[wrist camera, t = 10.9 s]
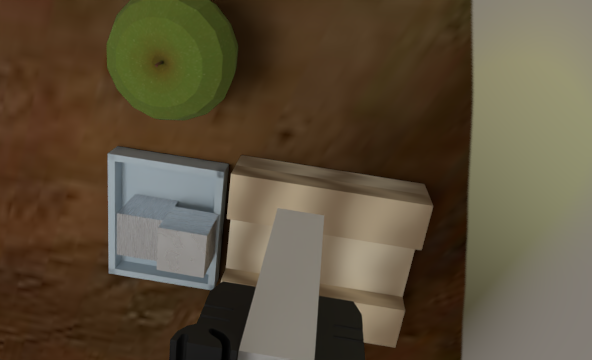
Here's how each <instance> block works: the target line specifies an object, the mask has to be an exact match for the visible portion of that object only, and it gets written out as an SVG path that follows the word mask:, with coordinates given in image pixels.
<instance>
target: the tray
mask: <svg viewBox="0 0 592 360" xmlns="http://www.w3.org/2000/svg"><path fill="white" fill-rule="evenodd" d="M228 171H229V164H226V163H220V162H214V161H208V160H201V159H195V158H189V157H182V156H176V155H170V154H164V153H157V152H151V151H145V150H138V149H132V148H126V147H119V146H117V147H116V148H114V149H113V150H112V151H110V152H109V153H108V243H109V273H110V274H116V275H122V276H128V277H134V278H140V279H146V280H152V281H159V282H165V283H171V284H177V285H183V286H189V287H195V288H201V289H207V290H212V289H213V288H215V286H216V284H217V281H218V279H219V269H220V258H221V247H222V236H223V225H224V214H225V203H226V192H227V182H228ZM135 194H139V195H145V196H151V197H157V198H164V199H170V200H176V201H179V202H178V207H180V208H186V209H192V210H198V211H204V212H210V213H216V214H219V219H218V231H217V242H216V254H215V256H214V258H213V260H212V262H211V264H210V266H209V268H208V270H207V272H206V274H205V276H204V278H201V277H195V276H189V275H184V274H178V273H172V272H166V271H161V270H157V261H153V260H147V259H141V258H135V257H129V256H123V255H117V212H118V211H119V210H120V209H121V208H122V207H123V206H124V205H125V204H126V203H127V202H128V201H129V200H130V199H131V198H132V197H133V196H134V195H135Z"/></svg>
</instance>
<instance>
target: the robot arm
mask: <svg viewBox="0 0 592 360" xmlns="http://www.w3.org/2000/svg"><path fill="white" fill-rule="evenodd" d="M323 226H324V215H318V214H312V213H305V212H299V211H293V210H287V209H281V208H277V212H276V216H275V219H274V223H273V227H272V230H271V234H270V238H269V241H268V245H267V249H266V252H265V256H264V260H263V263H262V267H261V271H260V274H259V278H258V282H257V285H256V287H255V286H249V285H243V284H237V283H231V282H225V281H222V282H221V283H220V284H218V285H217V286H216V287H215V288H213V289H212V290H211V291H210V293H209V295H208V298H207V300H206V302H205V306H204V307H203V310H202V312H201V314H200V317H199V319H198V322H197V324H194V325H189V326H186V327H184V328H183V329H181V330H179V331H177V332H176V333H175V335H174V336H173V337H172V338H171V340H170V357H169V360H365V354H364V343H363V341H364V338H363V322H362V314H361V312H360V311H359V309H358V308H357V306H356V305H355V303H354V301H348V300H342V299H336V298H330V297H324V296H319V286H320V271H321V256H322V241H323Z"/></svg>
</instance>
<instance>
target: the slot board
mask: <svg viewBox="0 0 592 360" xmlns="http://www.w3.org/2000/svg"><path fill="white" fill-rule="evenodd" d="M277 208H281V209H287V210H293V211H299V212H305V213H312V214H318V215H324V226H323V241H322V256H321V271H320V286H319V296H324V297H330V298H336V299H342V300H348V301H354V303H355V305H356V306H357V308H358V309H359V311H360V312H361V314H362V322H363V338H364V341H363V342H365V343H371V344H377V345H383V346H389V347H395V346H396V343H397V339H398V335H399V332H400V328H401V324H402V321H403V317H404V313H405V307H404V302H403V293H404V289H405V285H406V282H407V278H408V274H409V270H410V266H411V263H412V259H413V255H414V251H415V249H416V250H422V246H423V243H424V239H425V235H426V232H427V228H428V224H429V220H430V217H431V213H432V209H433V204H432V201H431V199H430V197H429V194H428V192H427V189H426V187H425V184H421V183H415V182H408V181H402V180H396V179H390V178H383V177H377V176H371V175H364V174H358V173H352V172H345V171H339V170H333V169H326V168H320V167H314V166H307V165H301V164H295V163H288V162H282V161H276V160H270V159H263V158H257V157H251V156H244V155H241V157H240V158H239V160H238V162H237V164H236V166H235V167H234V169H233V171H232V173H231V178H230V189H229V200H228V210H227V219H231V220H230V230H229V241H228V251H227V261H226V269H225V271H224V274H223V276H222V279H221V282H222V281H225V282H231V283H237V284H243V285H249V286H255V287H256V285H257V282H258V278H259V274H260V271H261V267H262V263H263V260H264V256H265V252H266V249H267V245H268V241H269V238H270V234H271V230H272V227H273V223H274V219H275V216H276V212H277Z"/></svg>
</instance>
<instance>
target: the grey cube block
mask: <svg viewBox="0 0 592 360" xmlns="http://www.w3.org/2000/svg"><path fill="white" fill-rule="evenodd" d="M178 202H179V201H176V200H170V199H164V198H157V197H151V196H145V195H139V194H135V195H134V196H133V197H132V198H131V199H130V200H129V201H128V202H127V203H126V204H125V205H124V206H123V207H122V208H121V209H120V210H119V211H118V212H117V255H123V256H129V257H135V258H141V259H147V260H153V261H157V241H158V227H159V225H160V224H161V223H162V222H163V220H164V219H165V218H166V216H167V215H168V214H169V212H170V211H171V210H172V209H173V207H178Z"/></svg>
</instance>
